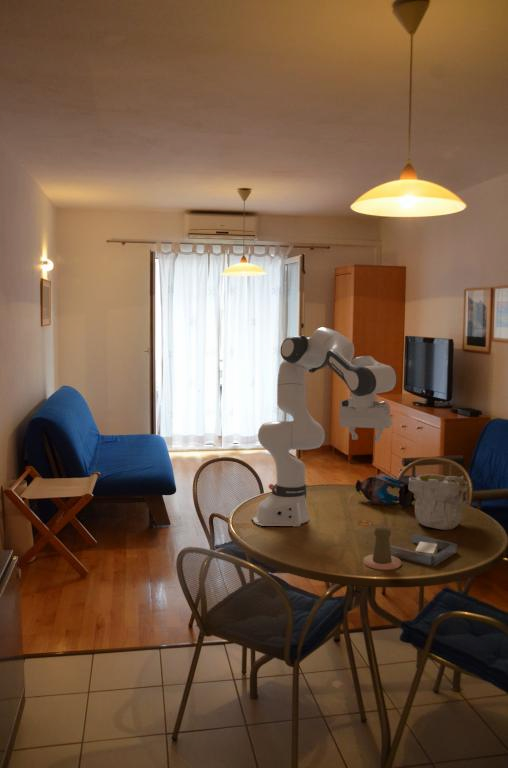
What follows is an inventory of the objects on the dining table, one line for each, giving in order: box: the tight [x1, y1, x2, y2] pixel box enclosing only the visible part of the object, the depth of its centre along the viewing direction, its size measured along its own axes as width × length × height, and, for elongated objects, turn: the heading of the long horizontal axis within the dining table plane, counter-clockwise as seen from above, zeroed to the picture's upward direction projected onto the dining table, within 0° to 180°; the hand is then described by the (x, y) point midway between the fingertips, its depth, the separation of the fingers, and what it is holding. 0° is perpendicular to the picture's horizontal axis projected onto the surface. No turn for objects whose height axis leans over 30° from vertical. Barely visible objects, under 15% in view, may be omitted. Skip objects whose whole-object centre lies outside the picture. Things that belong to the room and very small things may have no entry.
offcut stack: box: [415, 542, 438, 556], centre depth 219 cm, size 6×11×3 cm, turn 157°
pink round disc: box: [362, 553, 402, 571], centre depth 211 cm, size 12×12×1 cm
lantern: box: [355, 473, 416, 511], centre depth 279 cm, size 16×16×25 cm
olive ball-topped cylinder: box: [372, 526, 392, 564], centre depth 211 cm, size 6×6×11 cm
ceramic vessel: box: [408, 473, 469, 531], centre depth 252 cm, size 23×24×25 cm
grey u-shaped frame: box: [390, 533, 458, 568], centre depth 220 cm, size 16×17×3 cm
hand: (366, 440), depth 234 cm, fingers open, 8 cm apart
